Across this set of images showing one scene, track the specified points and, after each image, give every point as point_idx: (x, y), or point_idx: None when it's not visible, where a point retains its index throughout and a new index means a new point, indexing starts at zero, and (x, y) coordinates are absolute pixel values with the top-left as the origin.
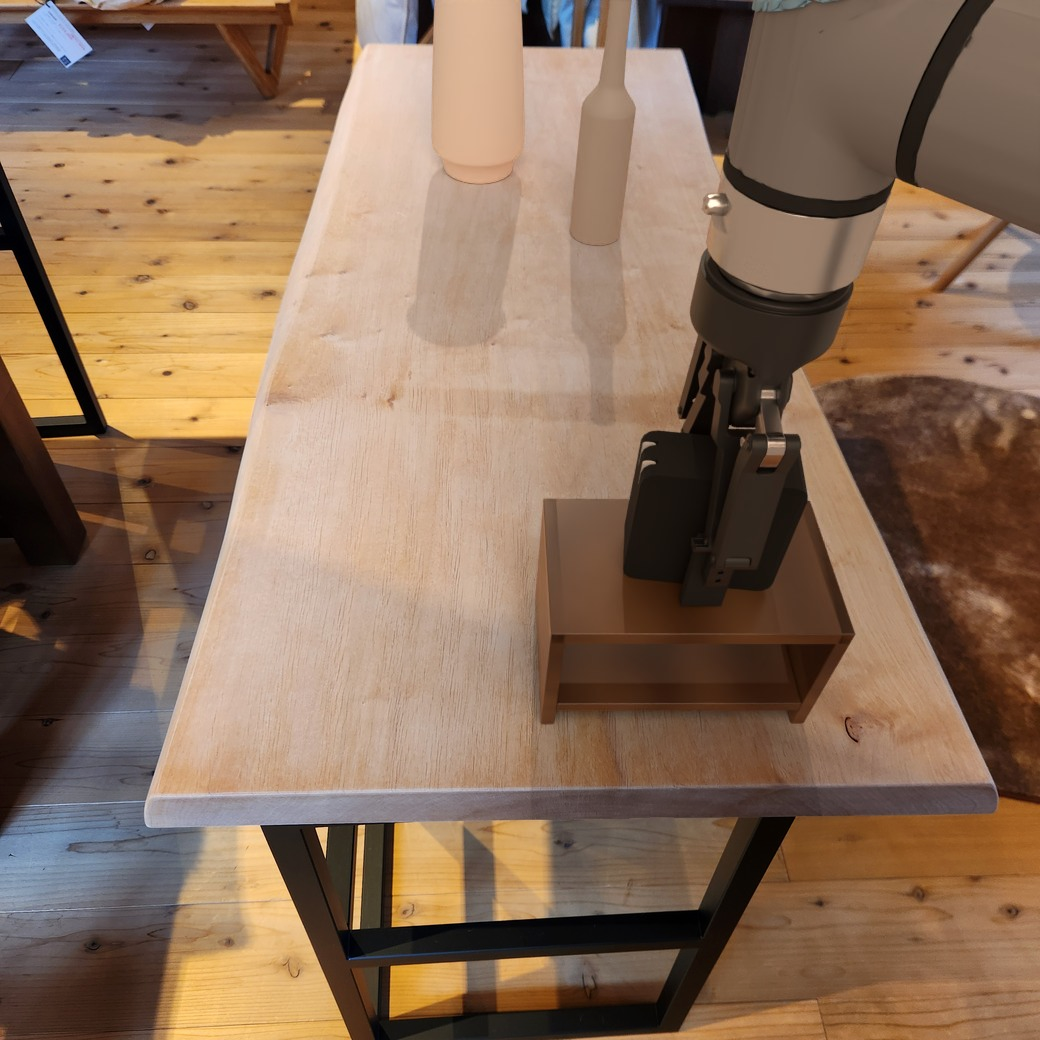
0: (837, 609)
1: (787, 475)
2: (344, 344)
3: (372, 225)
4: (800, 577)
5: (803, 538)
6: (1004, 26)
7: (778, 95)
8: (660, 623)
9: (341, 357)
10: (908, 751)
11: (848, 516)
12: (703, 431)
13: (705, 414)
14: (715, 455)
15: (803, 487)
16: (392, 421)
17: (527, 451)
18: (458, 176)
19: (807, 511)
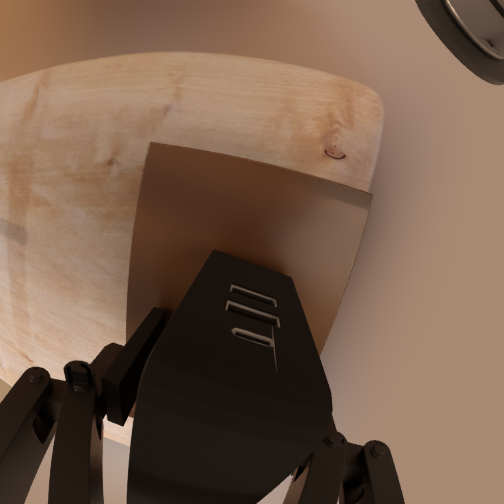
0: (337, 196)
1: (266, 448)
2: (4, 363)
3: None
4: (277, 219)
5: (212, 181)
6: None
7: None
8: None
9: (11, 368)
10: (359, 124)
11: (136, 63)
12: (98, 446)
13: (101, 501)
14: (181, 497)
15: (314, 425)
16: (41, 365)
17: (48, 301)
18: None
19: (166, 154)
